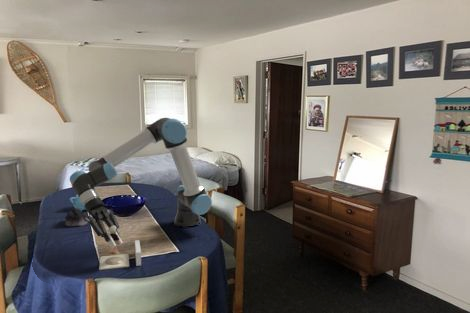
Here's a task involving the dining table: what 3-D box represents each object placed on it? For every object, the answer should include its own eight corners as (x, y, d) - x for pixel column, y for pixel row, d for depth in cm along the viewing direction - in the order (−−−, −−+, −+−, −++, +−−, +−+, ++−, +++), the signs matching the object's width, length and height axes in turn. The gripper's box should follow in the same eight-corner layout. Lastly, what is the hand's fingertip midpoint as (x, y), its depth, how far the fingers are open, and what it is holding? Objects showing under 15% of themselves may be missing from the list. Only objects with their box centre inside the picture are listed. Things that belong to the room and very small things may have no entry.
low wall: (139, 252, 166) (139, 239, 166) (141, 265, 153) (140, 252, 152) (135, 252, 166) (134, 240, 165) (136, 265, 153) (136, 252, 152)
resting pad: (128, 254, 163) (128, 253, 163) (129, 266, 152) (129, 265, 152) (100, 257, 159) (100, 256, 159) (99, 269, 148) (99, 268, 148)
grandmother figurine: (123, 252, 156) (123, 225, 154) (119, 256, 153) (119, 228, 151) (107, 250, 157) (106, 223, 155) (102, 254, 154) (102, 226, 151)
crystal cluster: (82, 218, 211) (80, 202, 210) (94, 222, 203) (92, 205, 201) (60, 226, 201) (57, 209, 200) (72, 230, 193) (69, 212, 191)
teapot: (68, 212, 221) (67, 195, 219) (81, 204, 235) (80, 188, 233) (87, 214, 220) (86, 196, 217) (99, 206, 233) (98, 190, 231)
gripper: (103, 202, 167) (127, 244, 161) (72, 210, 154) (97, 256, 148) (110, 193, 164) (135, 235, 157) (79, 200, 150) (105, 247, 144)
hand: (117, 245), depth 153 cm, fingers closed on grandmother figurine, 3 cm apart
